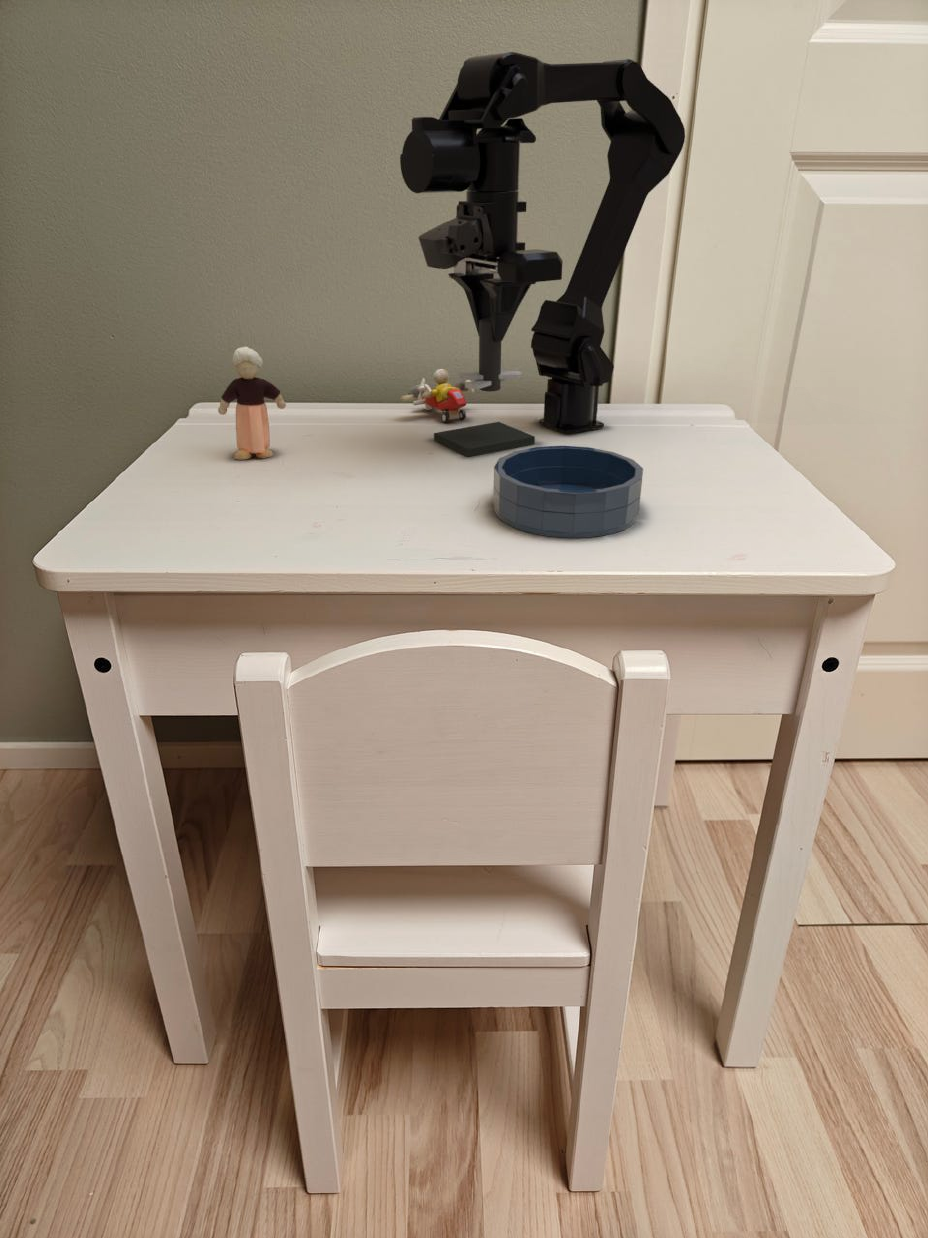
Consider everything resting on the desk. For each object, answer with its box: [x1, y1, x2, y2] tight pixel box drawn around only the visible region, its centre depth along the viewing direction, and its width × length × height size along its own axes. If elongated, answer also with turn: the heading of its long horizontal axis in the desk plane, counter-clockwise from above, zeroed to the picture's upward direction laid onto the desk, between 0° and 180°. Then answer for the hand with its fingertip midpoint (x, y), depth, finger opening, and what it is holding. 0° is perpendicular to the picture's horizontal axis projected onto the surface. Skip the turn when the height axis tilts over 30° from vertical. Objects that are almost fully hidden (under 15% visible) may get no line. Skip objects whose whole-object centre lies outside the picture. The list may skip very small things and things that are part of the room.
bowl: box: [492, 445, 644, 539], centre depth 87 cm, size 15×15×4 cm
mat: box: [433, 421, 536, 458], centre depth 108 cm, size 10×8×1 cm
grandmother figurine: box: [217, 346, 287, 461], centre depth 101 cm, size 8×4×13 cm, turn 117°
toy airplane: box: [400, 368, 476, 423], centre depth 118 cm, size 9×9×6 cm
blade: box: [456, 318, 523, 392], centre depth 102 cm, size 8×5×8 cm, turn 123°
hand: (490, 339), depth 101 cm, fingers closed on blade, 2 cm apart
